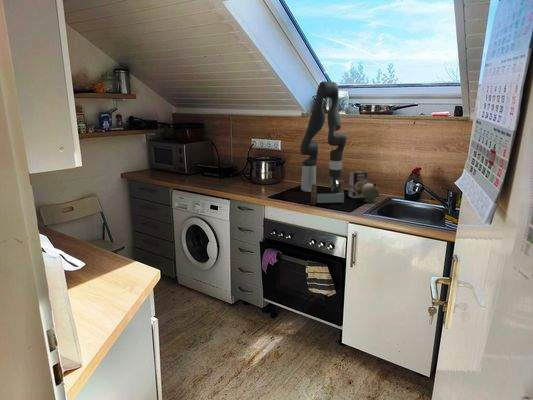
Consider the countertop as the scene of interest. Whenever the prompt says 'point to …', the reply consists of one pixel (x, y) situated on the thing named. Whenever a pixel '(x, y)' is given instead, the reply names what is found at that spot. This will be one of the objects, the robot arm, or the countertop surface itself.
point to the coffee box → (357, 183)
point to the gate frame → (314, 190)
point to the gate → (330, 198)
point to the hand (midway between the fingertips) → (333, 196)
